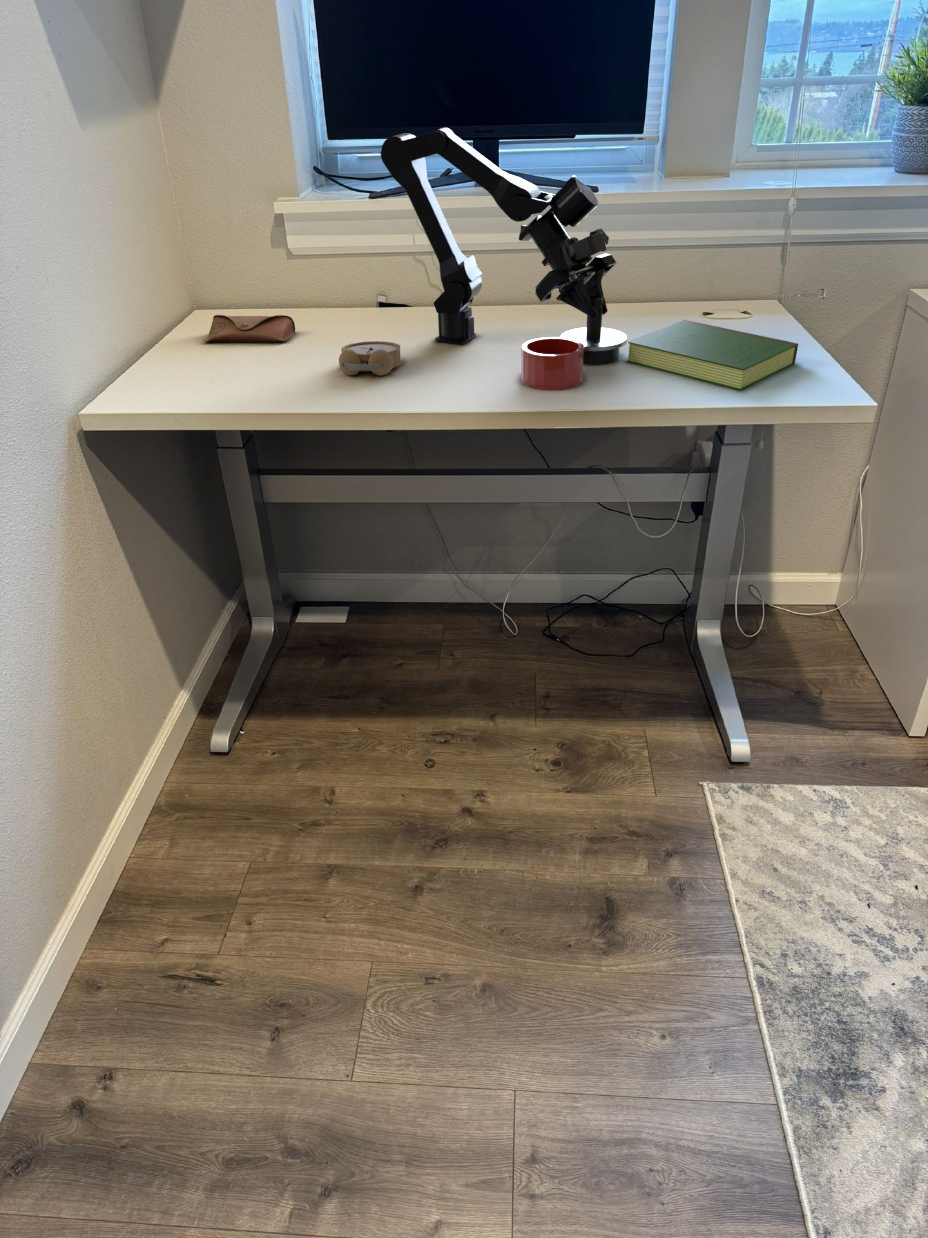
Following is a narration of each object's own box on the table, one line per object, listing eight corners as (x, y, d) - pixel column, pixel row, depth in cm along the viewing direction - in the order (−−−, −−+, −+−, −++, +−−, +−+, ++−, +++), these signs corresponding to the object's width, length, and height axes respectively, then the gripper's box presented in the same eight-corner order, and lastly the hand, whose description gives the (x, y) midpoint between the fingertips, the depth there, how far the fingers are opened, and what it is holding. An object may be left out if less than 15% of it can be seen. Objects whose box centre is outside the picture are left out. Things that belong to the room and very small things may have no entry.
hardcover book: (794, 363, 161) (798, 343, 159) (740, 390, 150) (743, 369, 148) (679, 338, 176) (681, 319, 174) (623, 360, 166) (624, 340, 163)
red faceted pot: (511, 384, 156) (511, 351, 153) (536, 366, 164) (537, 334, 161) (568, 393, 152) (569, 359, 149) (591, 373, 160) (593, 341, 157)
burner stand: (558, 361, 167) (558, 345, 165) (577, 346, 174) (578, 330, 172) (607, 367, 163) (608, 351, 161) (625, 352, 170) (627, 336, 168)
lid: (549, 346, 165) (550, 302, 160) (574, 328, 174) (576, 286, 169) (613, 354, 159) (616, 309, 155) (635, 335, 168) (639, 292, 164)
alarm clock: (405, 341, 170) (390, 350, 157) (406, 367, 172) (391, 378, 159) (349, 340, 171) (329, 350, 158) (350, 366, 174) (331, 378, 160)
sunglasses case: (202, 341, 182) (202, 309, 182) (214, 350, 189) (214, 318, 189) (286, 341, 181) (286, 308, 180) (295, 349, 188) (296, 318, 187)
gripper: (549, 223, 151) (598, 298, 151) (611, 206, 162) (657, 277, 162) (514, 265, 160) (560, 336, 160) (574, 247, 171) (618, 313, 171)
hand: (600, 314), depth 163 cm, fingers closed on lid, 3 cm apart
